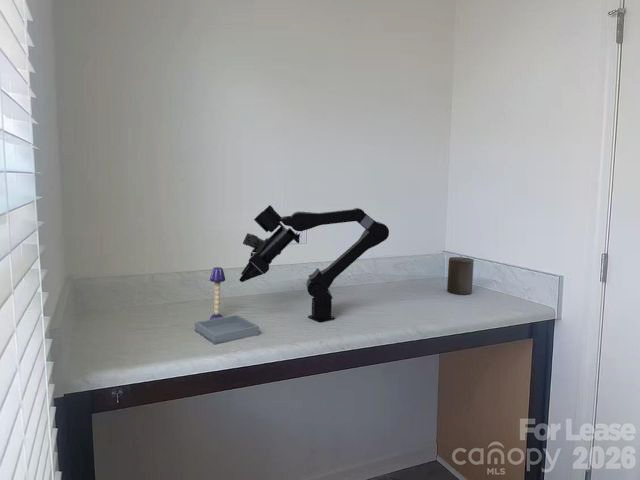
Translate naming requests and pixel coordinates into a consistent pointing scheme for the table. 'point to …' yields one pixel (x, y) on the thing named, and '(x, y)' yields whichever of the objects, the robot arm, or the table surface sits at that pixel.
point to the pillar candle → (460, 275)
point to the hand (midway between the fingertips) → (241, 277)
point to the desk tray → (226, 329)
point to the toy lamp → (217, 290)
